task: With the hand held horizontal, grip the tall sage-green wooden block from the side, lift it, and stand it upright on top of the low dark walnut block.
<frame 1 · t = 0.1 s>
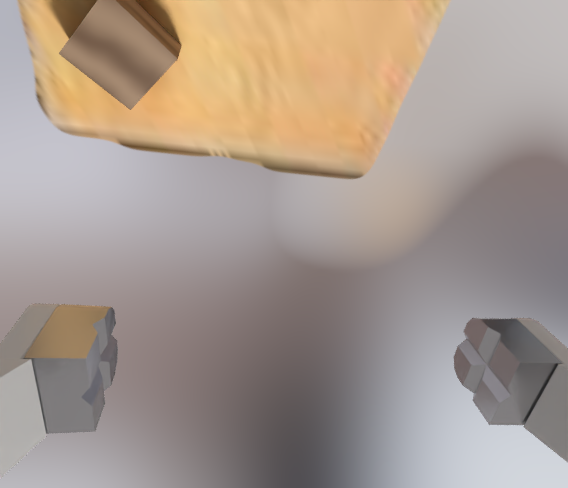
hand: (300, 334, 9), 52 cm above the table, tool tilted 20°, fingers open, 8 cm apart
walnut block: (126, 42, 52), on the table
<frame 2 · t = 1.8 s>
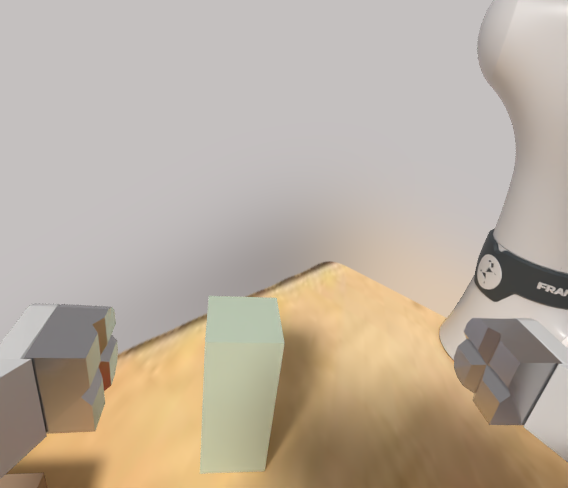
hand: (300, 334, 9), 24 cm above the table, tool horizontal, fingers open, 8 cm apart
sage block: (232, 443, 33), on the table
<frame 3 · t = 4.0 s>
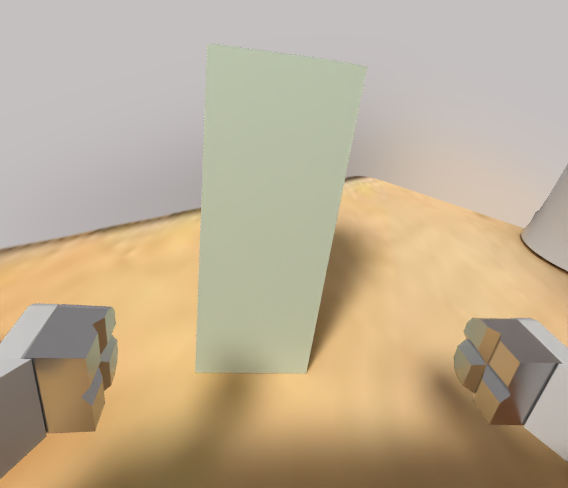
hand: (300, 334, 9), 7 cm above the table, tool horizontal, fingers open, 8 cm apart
sage block: (249, 336, 20), on the table
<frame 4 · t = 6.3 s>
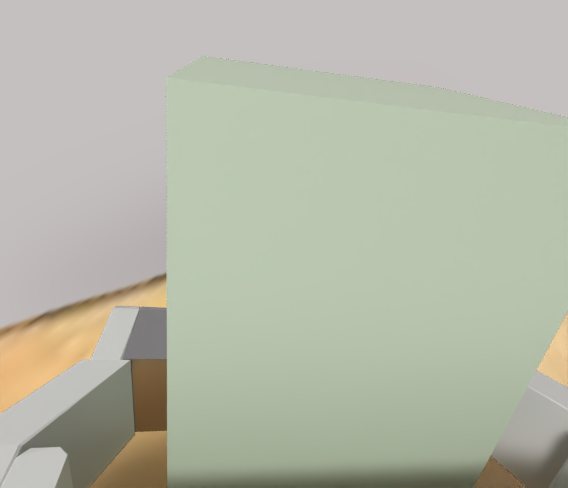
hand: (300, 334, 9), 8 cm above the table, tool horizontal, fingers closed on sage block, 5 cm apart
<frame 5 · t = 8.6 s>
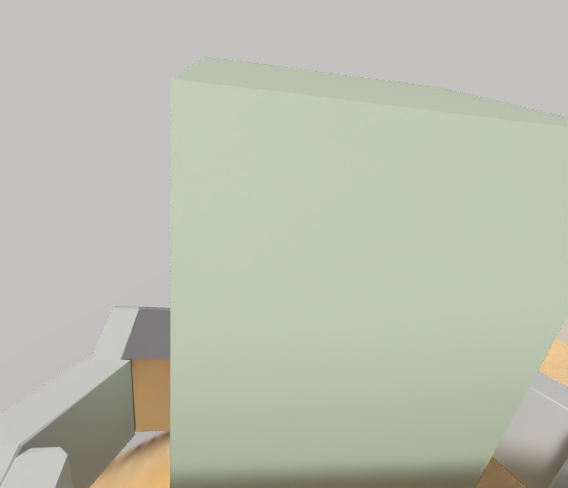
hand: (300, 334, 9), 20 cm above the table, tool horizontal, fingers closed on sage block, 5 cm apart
when the fingers open (13 cm above the table, at t = 11.3 s): sage block drops 1 cm, resting on walnut block.
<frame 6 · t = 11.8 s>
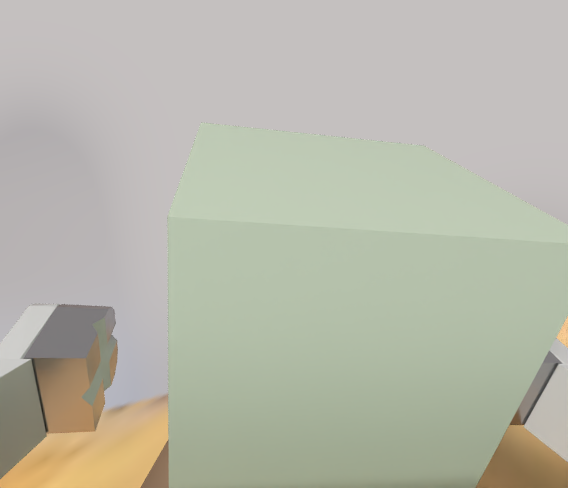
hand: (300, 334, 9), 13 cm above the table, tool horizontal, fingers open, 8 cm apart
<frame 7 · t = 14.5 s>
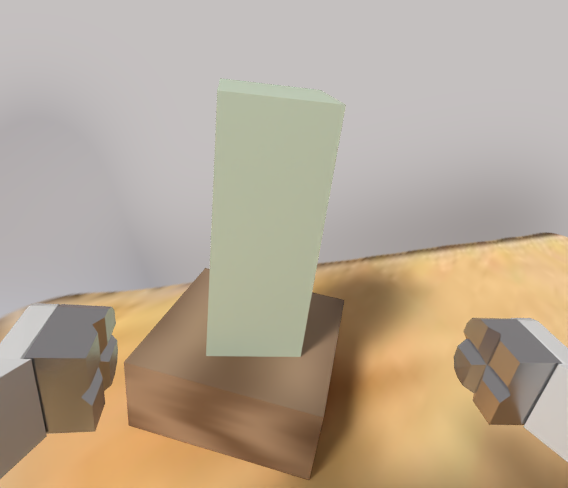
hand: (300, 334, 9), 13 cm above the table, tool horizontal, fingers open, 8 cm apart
walnut block: (245, 383, 25), on the table
sage block: (251, 326, 23), point 4 cm above the table, touching walnut block
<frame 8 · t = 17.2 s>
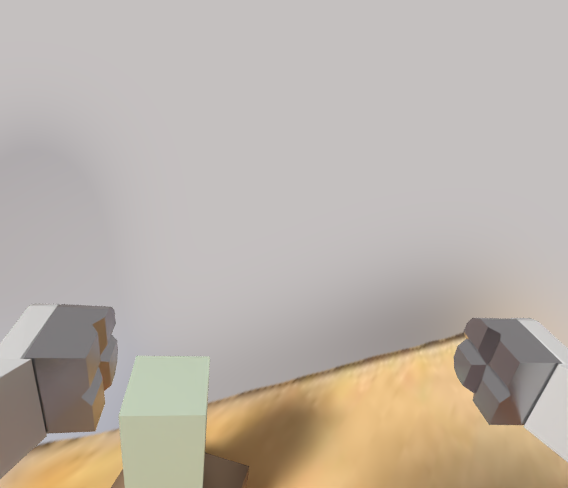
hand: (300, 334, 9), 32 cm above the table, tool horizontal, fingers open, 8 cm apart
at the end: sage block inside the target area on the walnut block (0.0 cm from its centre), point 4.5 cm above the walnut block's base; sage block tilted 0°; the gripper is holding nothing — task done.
